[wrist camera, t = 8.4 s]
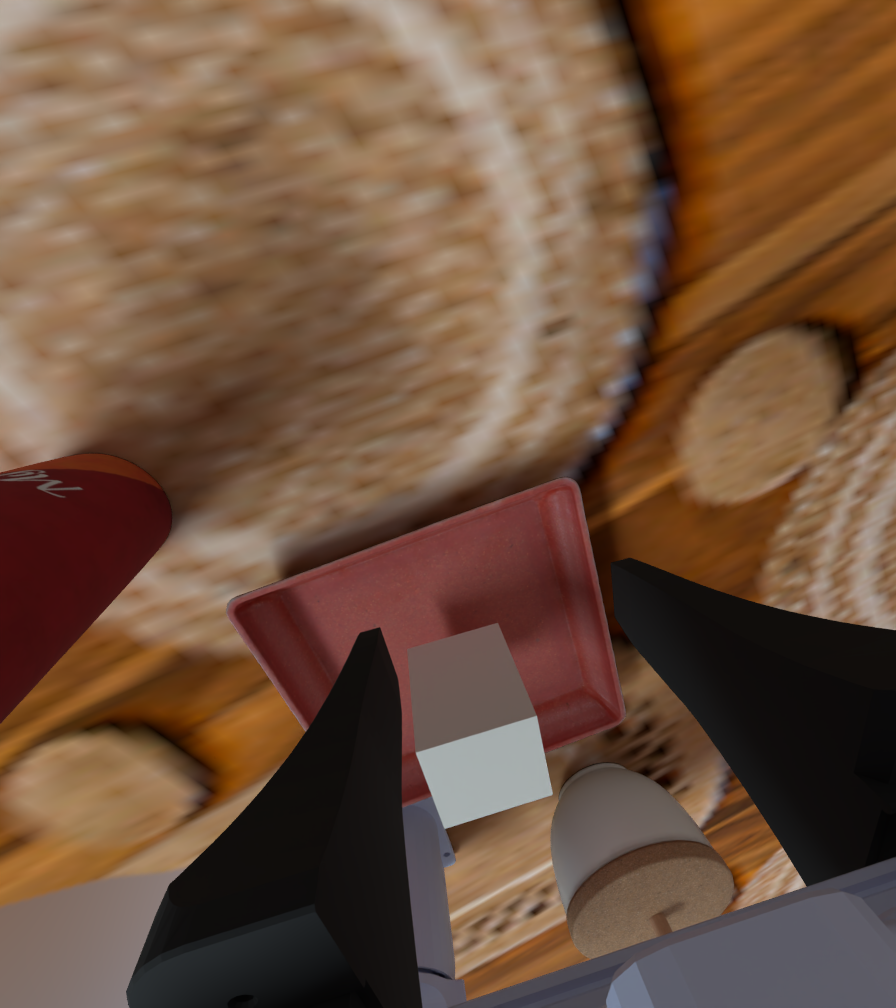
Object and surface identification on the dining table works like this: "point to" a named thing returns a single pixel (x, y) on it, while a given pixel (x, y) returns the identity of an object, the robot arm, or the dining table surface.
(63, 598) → the paper cup
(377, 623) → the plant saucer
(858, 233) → the dining table surface
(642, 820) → the lidded jar
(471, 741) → the block
